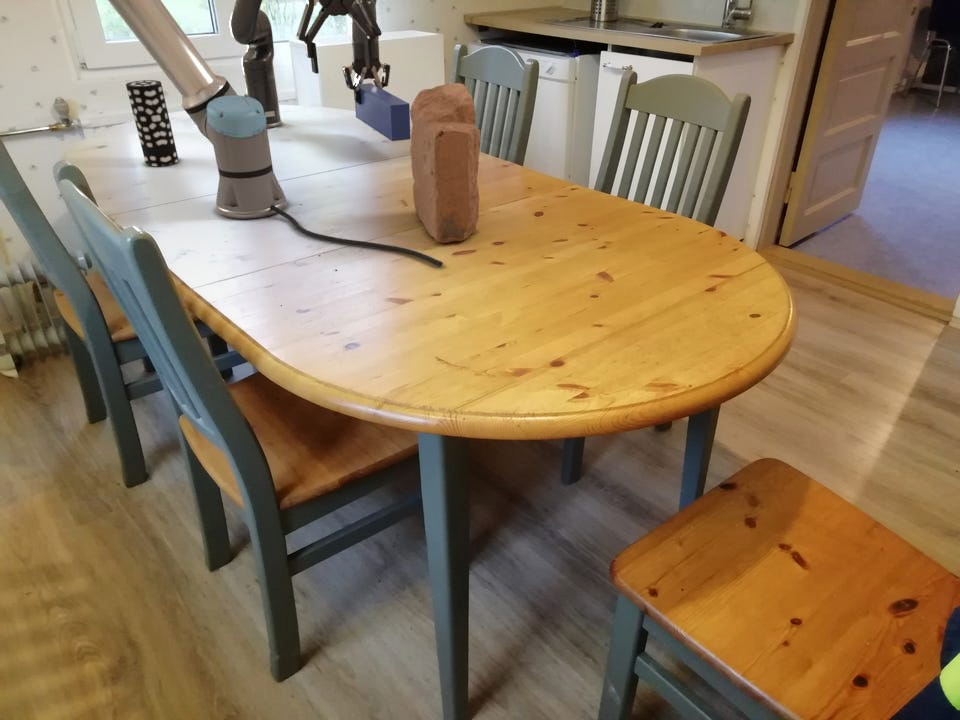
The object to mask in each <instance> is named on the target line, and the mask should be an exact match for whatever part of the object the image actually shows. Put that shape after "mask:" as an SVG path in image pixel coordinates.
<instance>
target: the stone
mask: <svg viewBox="0 0 960 720" xmlns="http://www.w3.org/2000/svg"><path fill="white" fill-rule="evenodd" d="M410 121H411V124H412V125H411V132H410V162H411V174H412V179H413V185H412V193H413V195H412V196H413V205H414V209H415V212H416V214H417V215H418V217H419V219H420V221H421V223H422V224H423V225H424V227H425V230H426V231H427V232H428V234H429V235H430V237H432V238H434V240H435V242H437V243H439V244H447V243H451V242H462V241H464V240H467V239H468V238H469V237H470V235H472V234H474V233H475V232H476V229H477V224H478V221H479V218H480V217H479V216H480V215H479V207H480V192H479V185H478V174H479V164H480V162H479V160H480V159H479V158H480V150H481V139H482V138H481V129H478V127H477V125H476V107H475V103H474V98H473V95H472V93H470V92H469V91H468V88H467V87H466V86H465V84H464V83H460V82H455V83H445V84H442V85H437V86H435V87H432V88H424V89H421V91H420V90H419V92H418V93H417V94H416V96H415V98H414V100H413V102H412V104H411V107H410Z"/></svg>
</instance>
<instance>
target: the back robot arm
mask: <svg viewBox="0 0 960 720" xmlns="http://www.w3.org/2000/svg"><path fill="white" fill-rule="evenodd" d="M262 3H263V0H235V3H234V5H233V8H232V12H231V15H230V20H229V28H230V33H231V36H232V38H233V40H234V41H235V42H236V43H237V44H240V45H241V46H242V45H243V46H247V49H246V52H245V53H244V55H242V58H241V60H240V63H241V68H242V74H243V75H242V76H243V81H244V86H245V93H244V94H243V96H246V97H250V98H253V99H255V100H257V101H258V102H260V104H261V105H262V107H263V110H264V114H265V116H266V126H267V129H271V128H276V127H280V126H281V125H282V119H281V118H282V117H281V111H280V105H279V97H278V89H277V82H276V76H275V68H274V58H275V47H274V37H273V36H274V35H273V29H272V24H271V20H270V18H269V16H268V15H267V14H266V12H265V11H264V10H262V9H261V6H262ZM367 4H368V6H369V8H370V10H371V12H372V14H373V16H374V18H375V20H376V22H378V20H377V0H367ZM352 8H353V9H354V10H355V11H356V13H357V15H358V16H359V17H360V18H361V19H362V21H363V22H364V23H365V24H366V25H367V27H368V28H369V29H370V30H371V31H372V29H371V27H370V25H369V23H368V21H367V19H366V17H365V15H364V13H363V11H362V9H361V7H360V5H359V4H358V3H357V2H356V0H355V1H354V3H353V5H352ZM365 38H367V36H366V35H365V34H364V33H363V32H362V30H361V29H360V28H359V27H358V26H357V24H356V23H355V22H354V21H353V20H352V18H351V17H350V42H351V55H352V63H351V64H350V65H347V66H345V65H343V66H342V67H341V69H342V73H343V77H344V81H345V85H346V87H347V88H348V89H349V90H353V99H354V103H355V102H356V103H357V104H358V105H361V92H360V91H359V90H360V87H361V84H364V83H363V82H364V80H368V79H370V80H372V82H373V84H374V85H375V86H377V87H379V88H381V89H384V88H385V87H388V86H389V83H390V81H389V80H390V73H391V65H390V64H388V63H386V62H384V63H382V62H381V60H380V46H379V45H380V43H379V39H380V36H377V37H376V39H375V40H374V42H375V53H372V65H373V69H369V68H366V61H365V48H364V39H365ZM380 71H381V72H382V73H381V79H380V76H379V73H378V72H380ZM353 72H354V73H355V76H354V81H353V78H352V74H353Z"/></svg>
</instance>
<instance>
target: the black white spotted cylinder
mask: <svg viewBox="0 0 960 720" xmlns="http://www.w3.org/2000/svg"><path fill="white" fill-rule="evenodd" d="M125 87H126V91H127V95H128V99H129V103H130V107H131V110H132V115H133V118H134V122H135V123H134V124H135V127H136V130H137V134H138V139H139V143H140V146H141V150H142V155H143V158H144V163H145V164H146V165H147V166H151V167H164V166H170V165H174V164H176V163H178V162H179V155H178V150H177V146H176V142H175V137H174V133H173V128H172V125H171V121H170V116H169V111H168V107H167V103H166V98H165V93H164V89H163V84H162V81H161V80H155V79H154V80H153V79H151V80H150V79H145V80H144V79H141V80H134V81H130V82H129V81H128V82H127V83H126V84H125Z"/></svg>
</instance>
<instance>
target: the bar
mask: <svg viewBox="0 0 960 720" xmlns="http://www.w3.org/2000/svg"><path fill="white" fill-rule="evenodd" d="M359 91H360V92H361V105H358V104H357V103H356V102H355V101H354V109H355V118H356V119H358V120H359V121H361V122H362V123H364V124H365V125H367V126H368V127H370V128H371V129H373V131H375V132H378V133H379V134H381V135H382V136H383V137H385V138H386V139H388V140H389V141H391V142H398V141H405V140H406V141H407V140H411V116H410V109H411V107H410V103H409V102H407V101H406V100H404V99H401V98H399V97H398V96H397V95H394V94H392V93H391V92H388V91H387V90H384V88H382V89H381V88H379V87H377V86H375V84H374V83H371V82H367V83H362V84H361V87H360V90H359Z"/></svg>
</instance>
